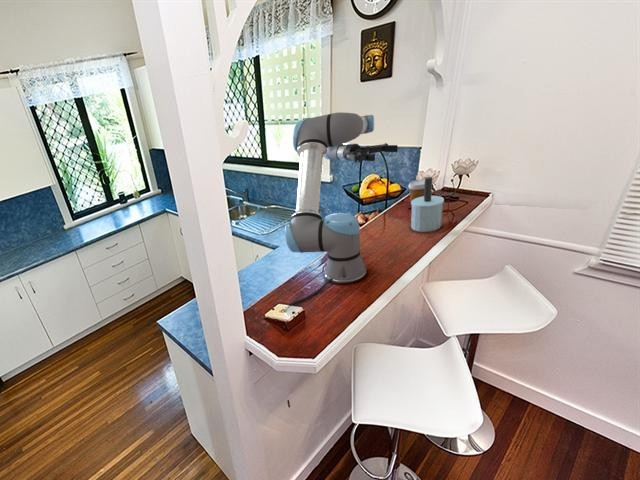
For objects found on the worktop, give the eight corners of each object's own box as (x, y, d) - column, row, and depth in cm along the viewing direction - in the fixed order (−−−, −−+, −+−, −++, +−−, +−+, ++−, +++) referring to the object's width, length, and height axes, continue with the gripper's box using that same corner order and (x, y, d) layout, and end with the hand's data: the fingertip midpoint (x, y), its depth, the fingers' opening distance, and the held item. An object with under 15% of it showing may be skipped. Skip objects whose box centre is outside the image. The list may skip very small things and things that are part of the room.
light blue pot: (429, 234, 145) (430, 208, 139) (405, 229, 154) (406, 204, 149) (446, 225, 149) (449, 199, 143) (422, 220, 158) (424, 196, 152)
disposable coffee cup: (424, 201, 176) (426, 178, 170) (431, 207, 168) (433, 182, 162) (405, 205, 178) (405, 181, 172) (411, 211, 170) (411, 186, 164)
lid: (430, 210, 139) (432, 183, 134) (404, 206, 149) (405, 181, 144) (450, 200, 143) (452, 174, 138) (423, 196, 153) (425, 172, 148)
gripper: (368, 153, 171) (405, 153, 154) (330, 167, 163) (364, 170, 146) (368, 136, 168) (406, 135, 151) (328, 151, 159) (364, 151, 143)
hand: (385, 153), depth 148 cm, fingers open, 13 cm apart
